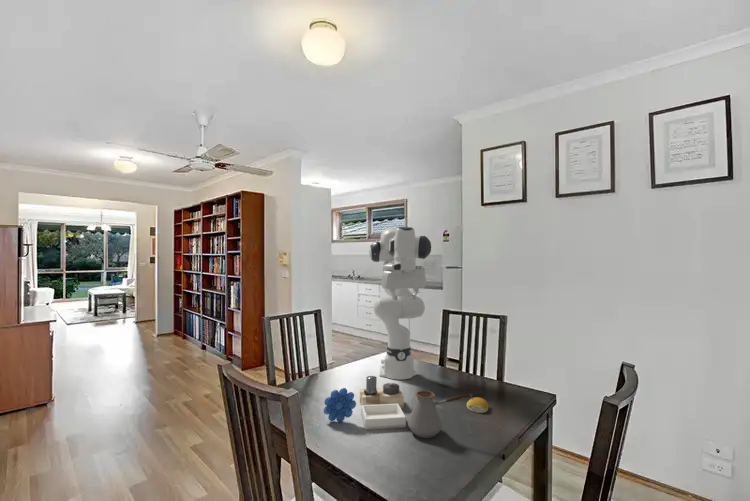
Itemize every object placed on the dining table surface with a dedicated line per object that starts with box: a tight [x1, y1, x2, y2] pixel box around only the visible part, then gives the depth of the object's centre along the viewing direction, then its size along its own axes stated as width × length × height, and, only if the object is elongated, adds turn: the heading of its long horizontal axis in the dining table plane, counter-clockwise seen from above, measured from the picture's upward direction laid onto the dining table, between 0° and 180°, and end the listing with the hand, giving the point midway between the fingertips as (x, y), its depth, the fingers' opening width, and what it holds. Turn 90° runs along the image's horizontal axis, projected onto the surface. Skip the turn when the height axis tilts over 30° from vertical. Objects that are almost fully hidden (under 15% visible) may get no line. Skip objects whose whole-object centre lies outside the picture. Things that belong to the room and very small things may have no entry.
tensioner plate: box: [359, 382, 405, 410], centre depth 147 cm, size 9×16×8 cm, turn 99°
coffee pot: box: [407, 390, 474, 439], centre depth 123 cm, size 21×12×15 cm, turn 72°
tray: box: [360, 404, 407, 431], centre depth 133 cm, size 12×14×4 cm
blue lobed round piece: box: [323, 387, 357, 423], centre depth 133 cm, size 12×7×12 cm, turn 86°
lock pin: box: [365, 375, 378, 396], centre depth 147 cm, size 4×4×11 cm
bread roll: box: [466, 396, 489, 414], centre depth 145 cm, size 8×9×4 cm
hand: (404, 299), depth 152 cm, fingers open, 8 cm apart
